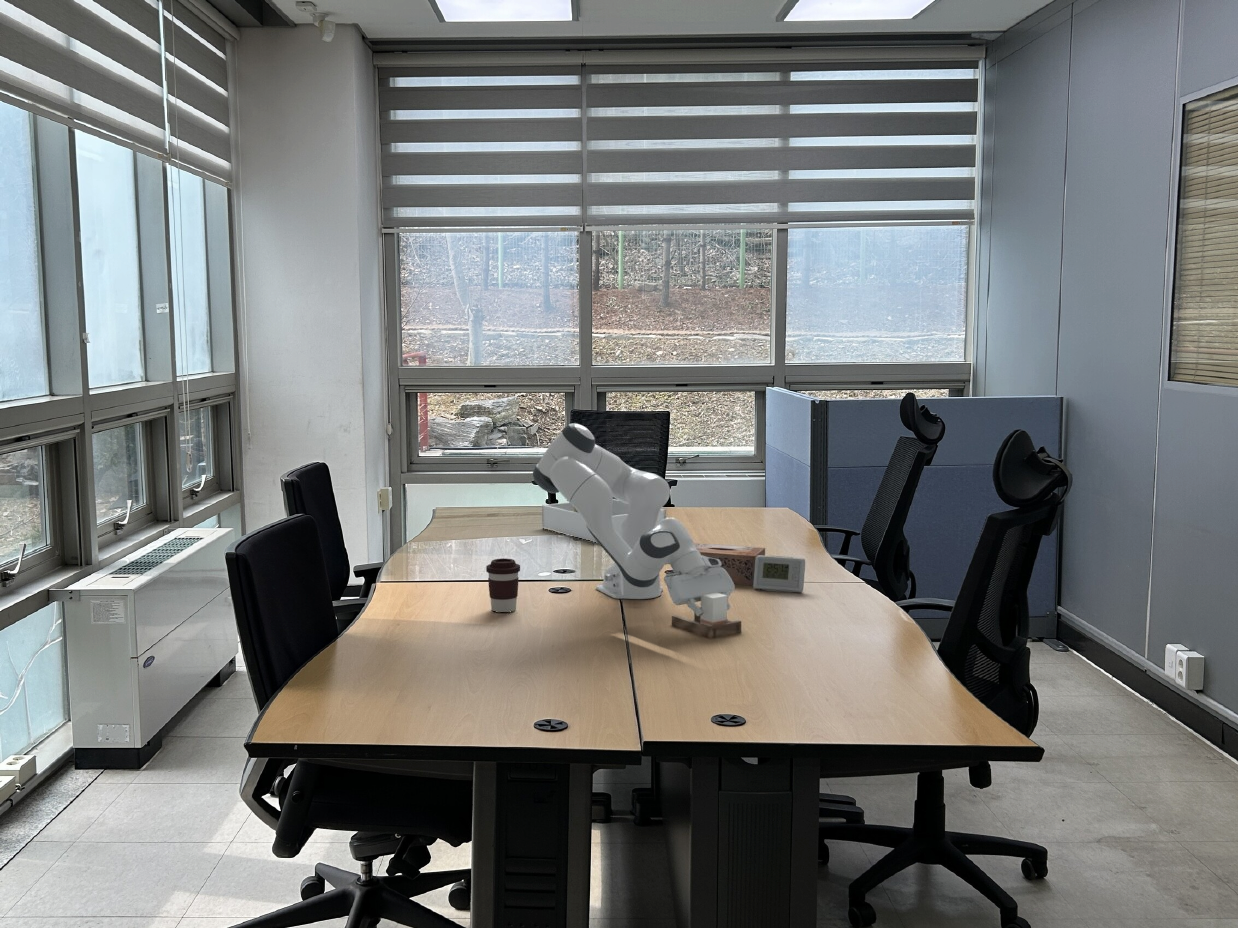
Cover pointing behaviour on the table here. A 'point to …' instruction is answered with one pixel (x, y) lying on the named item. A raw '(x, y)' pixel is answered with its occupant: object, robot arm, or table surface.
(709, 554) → the tissue box cover
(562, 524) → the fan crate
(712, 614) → the block
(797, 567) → the digital clock
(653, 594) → the robot arm
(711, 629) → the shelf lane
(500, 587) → the coffee cup
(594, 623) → the table surface
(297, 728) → the table surface
